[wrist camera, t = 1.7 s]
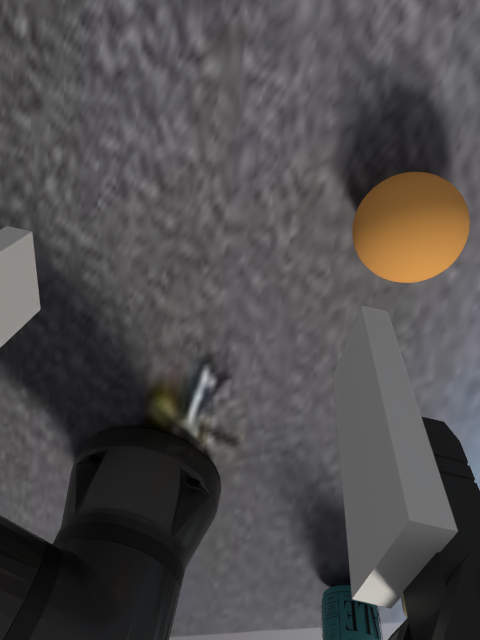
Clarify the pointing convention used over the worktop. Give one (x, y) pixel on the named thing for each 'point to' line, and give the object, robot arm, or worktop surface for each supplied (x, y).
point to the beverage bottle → (348, 616)
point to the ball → (411, 227)
